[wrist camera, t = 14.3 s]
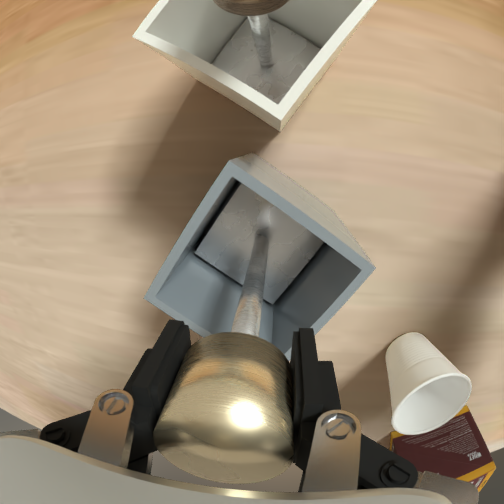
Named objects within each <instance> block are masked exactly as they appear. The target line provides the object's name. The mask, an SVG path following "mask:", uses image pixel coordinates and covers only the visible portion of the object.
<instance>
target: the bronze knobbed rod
mask: <svg viewBox="0 0 504 504" xmlns="http://www.w3.org/2000/svg"><path fill="white" fill-rule="evenodd" d="M213 1H214V3H215V4H216V5H217V6H218V7H220V8H221V9H223V10H225V11H227V12H229V13H232V14H235V15H241V16H248V20H247V21H246V22H245V23H244V25H243V26H242V27H241V28H240V29H239V31H238V32H237V33H236V34H235V36H234V37H233V38H232V39H231V41H230V42H229V43H228V44H227V46H226V47H225V48H224V50H223V51H222V52H221V53H220V55H219V56H218V57H217V59H216V60H215V61H214V63H213V64H212V65H213V66H215V67H217V68H219V69H221V70H222V71H224V72H226V73H228V74H229V75H231V76H233V77H234V78H236V79H238V80H240V81H241V82H243V83H245V84H246V85H248V86H249V87H251V88H253V89H254V90H256V91H257V92H259V93H261V94H262V95H264V96H265V97H267V98H268V99H270V100H272V101H273V102H275V103H276V104H279V103H280V102H281V100H282V99H283V98H284V96H285V95H286V94H287V92H288V91H289V90H290V88H291V87H292V86H293V84H294V83H295V82H296V80H297V79H298V78H299V77H300V75H301V74H302V73H303V71H304V70H305V69H306V68H307V66H308V65H309V64H310V63H311V61H312V60H313V59H314V57H315V56H316V55H317V54H318V52H319V51H320V50H321V49H319V48H317V47H316V46H314V45H313V44H311V43H310V42H308V41H307V40H305V39H303V38H302V37H300V36H298V35H297V34H295V33H293V32H292V31H290V30H288V29H287V28H285V27H283V26H281V25H280V24H278V23H276V22H274V21H272V20H270V19H269V18H268V13H271V12H273V11H275V10H277V9H279V8H281V7H282V6H283V5H285V4H286V3H287V2H288V1H289V0H213Z"/></svg>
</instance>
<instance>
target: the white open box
mask: <svg viewBox="0 0 504 504" xmlns="http://www.w3.org/2000/svg"><path fill="white" fill-rule="evenodd" d="M376 2H377V0H289V1H288V2H287V3H286V4H285V5H283V6H282V7H281V8H279V9H277V10H275V11H273V12H271V13H268V18H269V19H270V20H272V21H274V22H276V23H278V24H280V25H281V26H283V27H285V28H287V29H288V30H290V31H292V32H293V33H295V34H297V35H298V36H300V37H302V38H303V39H305V40H307V41H308V42H310V43H311V44H313V45H314V46H316V47H317V48H319V49H321V50H320V51H319V52H318V54H317V55H316V56H315V57H314V59H313V60H312V61H311V63H310V64H309V65H308V66H307V68H306V69H305V70H304V71H303V73H302V74H301V75H300V77H299V78H298V79H297V80H296V82H295V83H294V84H293V86H292V87H291V88H290V90H289V91H288V92H287V94H286V95H285V96H284V98H283V99H282V100H281V102H280V103H279V104H276V103H275V102H273V101H272V100H270V99H268V98H267V97H265V96H264V95H262V94H261V93H259V92H257V91H256V90H254V89H253V88H251V87H249V86H248V85H246V84H245V83H243V82H241V81H240V80H238V79H236V78H234V77H233V76H231V75H229V74H228V73H226V72H224V71H222V70H221V69H219V68H217V67H215V66H213V65H212V64H213V63H214V61H215V60H216V59H217V57H218V56H219V55H220V53H221V52H222V51H223V50H224V48H225V47H226V46H227V44H228V43H229V42H230V41H231V39H232V38H233V37H234V36H235V34H236V33H237V32H238V31H239V29H240V28H241V27H242V26H243V25H244V23H245V22H246V21H247V20H248V16H241V15H235V14H232V13H229V12H227V11H225V10H223V9H221V8H220V7H218V6H217V5H216V4H215V3H214V1H213V0H159V1H158V3H157V4H156V5H155V6H154V8H153V9H152V10H151V11H150V13H149V14H148V15H147V17H146V18H145V19H144V21H143V22H142V23H141V25H140V26H139V28H138V29H137V30H136V32H135V33H134V35H133V36H132V37H133V38H135V39H136V40H138V41H140V42H141V43H143V44H144V45H146V46H147V47H149V48H151V49H152V50H154V51H155V52H157V53H158V54H160V55H161V56H163V57H164V58H166V59H167V60H169V61H170V62H172V63H173V64H175V65H176V66H178V67H179V68H181V69H182V70H183V71H185V72H186V73H188V74H189V75H191V76H192V77H193V78H195V79H196V80H198V81H199V82H201V83H203V84H205V85H206V86H208V87H210V88H212V89H213V90H215V91H217V92H218V93H220V94H222V95H223V96H225V97H227V98H228V99H230V100H232V101H233V102H235V103H236V104H238V105H240V106H241V107H243V108H244V109H246V110H247V111H249V112H251V113H252V114H254V115H255V116H257V117H258V118H260V119H261V120H263V121H264V122H266V123H267V124H269V125H270V126H272V127H273V128H275V129H276V130H278V131H279V132H281V130H282V129H283V128H284V126H285V125H286V124H287V122H288V121H289V119H290V118H291V117H292V115H293V114H294V113H295V111H296V110H297V109H298V107H299V106H300V105H301V103H302V102H303V101H304V99H305V98H306V97H307V95H308V94H309V93H310V92H311V90H312V89H313V88H314V86H315V85H316V84H317V82H318V81H319V80H320V79H321V77H322V76H323V75H324V73H325V72H326V71H327V70H328V68H329V67H330V66H331V64H332V63H333V62H334V61H335V59H336V58H337V57H338V55H339V54H340V52H341V51H342V49H343V48H344V47H345V45H346V44H347V42H348V41H349V39H350V38H351V37H352V35H353V34H354V32H355V31H356V30H357V28H358V27H359V25H360V24H361V23H362V21H363V20H364V18H365V17H366V16H367V14H368V13H369V11H370V10H371V9H372V7H373V6H374V5H375V3H376Z"/></svg>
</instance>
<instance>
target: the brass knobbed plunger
mask: <svg viewBox="0 0 504 504" xmlns="http://www.w3.org/2000/svg"><path fill="white" fill-rule="evenodd" d="M323 243H324V241H323V240H321V239H320V238H319V237H317V236H316V235H315V234H313V233H312V232H310V231H309V230H308V229H306V228H305V227H304V226H302V225H301V224H299V223H298V222H297V221H295V220H294V219H293V218H291V217H290V216H288V215H287V214H286V213H284V212H283V211H281V210H280V209H278V208H277V207H276V206H274V205H273V204H271V203H270V202H269V201H267V200H266V199H264V198H263V197H261V196H260V195H259V194H257V193H256V192H254V191H253V190H251V189H250V188H248V187H247V186H245V185H244V184H243V183H241V185H240V186H239V187H238V189H237V190H236V192H235V193H234V195H233V196H232V198H231V199H230V201H229V202H228V203H227V205H226V206H225V208H224V209H223V211H222V212H221V214H220V215H219V217H218V218H217V220H216V221H215V223H214V224H213V226H212V227H211V229H210V230H209V232H208V233H207V235H206V236H205V238H204V239H203V241H202V242H201V244H200V245H199V247H198V248H197V250H196V252H195V254H197V255H198V256H200V257H201V258H202V259H204V260H205V261H207V262H208V263H210V264H211V265H213V266H214V267H216V268H217V269H219V270H220V271H222V272H223V273H225V274H226V275H228V276H229V277H231V278H232V279H234V280H235V281H237V282H239V283H240V284H242V285H243V287H242V291H241V295H240V299H239V302H238V306H237V310H236V314H235V318H234V322H233V326H232V330H231V332H222V333H216V334H212V335H209V336H206V337H204V338H202V339H200V340H198V341H197V342H195V343H194V344H193V345H192V346H191V347H190V348H189V349H188V351H187V353H186V355H185V357H184V359H183V362H182V364H181V366H180V369H179V371H178V374H177V376H176V378H175V381H174V383H173V385H172V388H171V390H170V393H169V395H168V398H167V400H166V402H165V405H164V407H163V410H162V412H161V415H160V417H159V419H158V422H157V424H156V427H155V429H154V432H153V439H154V443H155V445H156V447H157V449H158V450H159V452H160V453H161V454H162V455H163V456H164V457H165V458H166V459H167V460H168V461H169V462H171V463H172V464H173V465H175V466H176V467H178V468H180V469H181V470H183V471H185V472H187V473H190V474H192V475H194V476H197V477H200V478H203V479H207V480H211V481H215V482H221V483H230V484H248V483H256V482H262V481H266V480H269V479H272V478H274V477H276V476H278V475H280V474H282V473H283V472H285V471H286V470H287V469H288V468H289V466H290V465H291V463H292V462H293V458H294V431H293V393H292V368H291V365H290V363H289V361H288V359H287V358H286V356H285V355H284V354H283V353H282V352H281V351H280V350H279V349H278V348H277V347H276V346H274V345H273V344H271V343H270V342H268V341H266V340H264V339H262V338H259V337H258V336H259V328H260V319H261V311H262V302H263V299H265V300H266V301H268V302H269V303H271V304H272V305H273V304H274V302H275V301H276V300H277V299H278V298H279V296H280V295H281V294H282V293H283V292H284V291H285V289H286V288H287V287H288V286H289V285H290V283H291V282H292V281H293V280H294V279H295V277H296V276H297V275H298V274H299V273H300V271H301V270H302V269H303V268H304V266H305V265H306V264H307V263H308V262H309V260H310V259H311V258H312V257H313V255H314V254H315V253H316V252H317V251H318V249H319V248H320V247H321V246H322V244H323Z"/></svg>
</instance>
